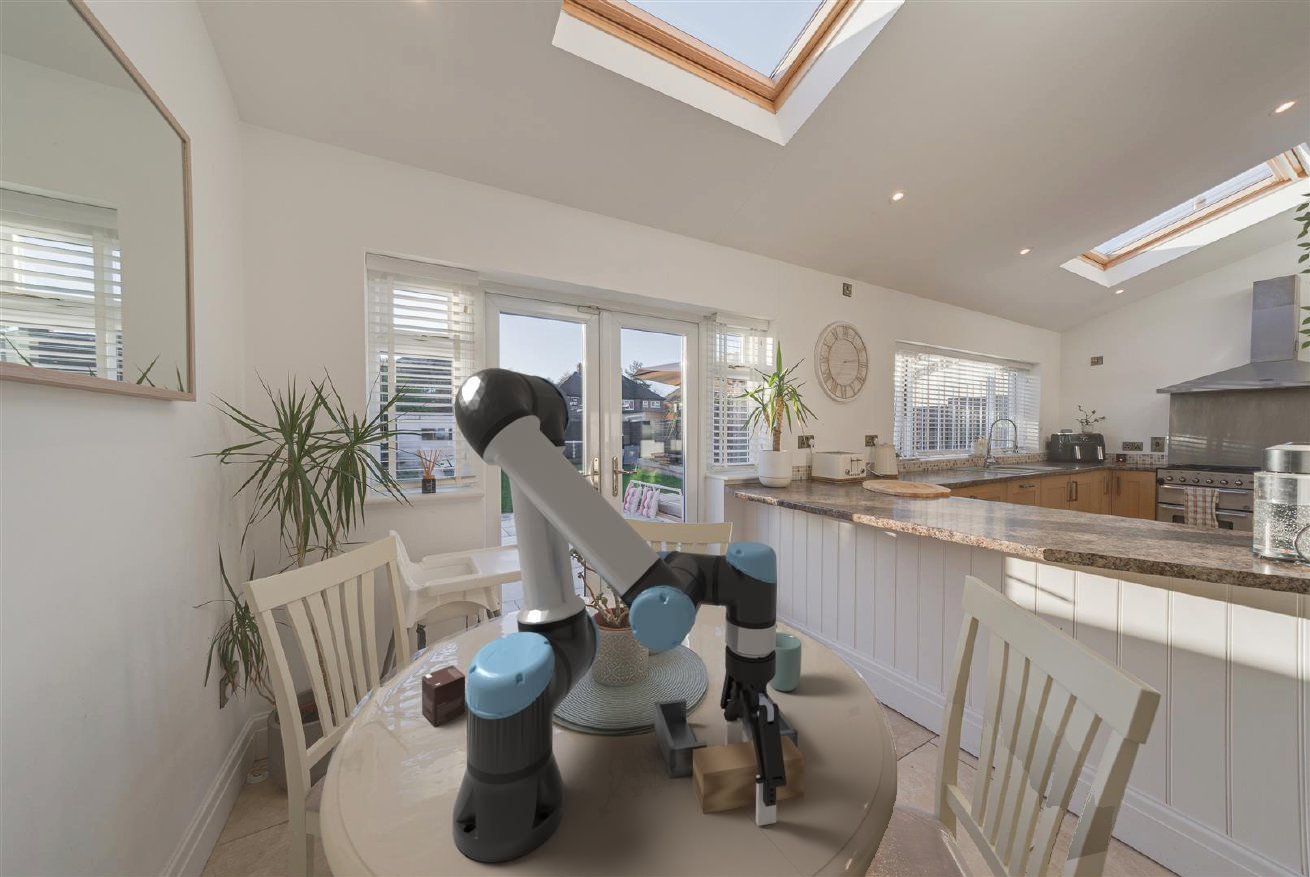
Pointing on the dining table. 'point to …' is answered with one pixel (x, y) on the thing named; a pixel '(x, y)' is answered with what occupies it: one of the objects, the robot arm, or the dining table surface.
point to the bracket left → (675, 737)
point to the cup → (787, 662)
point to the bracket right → (784, 726)
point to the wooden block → (740, 775)
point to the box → (443, 695)
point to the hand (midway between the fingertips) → (748, 789)
